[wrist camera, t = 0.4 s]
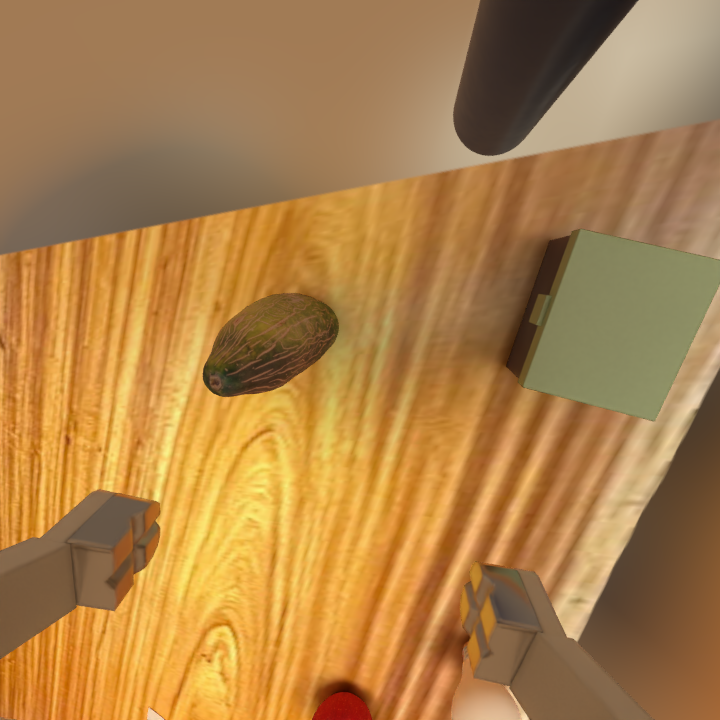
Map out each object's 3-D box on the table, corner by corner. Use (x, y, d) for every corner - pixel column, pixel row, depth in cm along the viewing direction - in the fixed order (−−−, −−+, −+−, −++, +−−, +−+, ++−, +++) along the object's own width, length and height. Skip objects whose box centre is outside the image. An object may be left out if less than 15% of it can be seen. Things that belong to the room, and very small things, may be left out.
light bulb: (445, 664, 45) (455, 785, 34) (444, 619, 43) (454, 731, 33) (502, 669, 44) (531, 795, 33) (503, 622, 42) (534, 739, 32)
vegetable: (278, 307, 38) (137, 340, 18) (329, 276, 36) (236, 275, 17) (308, 358, 38) (204, 441, 19) (360, 329, 37) (304, 388, 18)
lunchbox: (543, 236, 33) (574, 227, 27) (673, 265, 32) (736, 263, 26) (498, 366, 36) (517, 386, 30) (615, 396, 35) (660, 423, 29)
